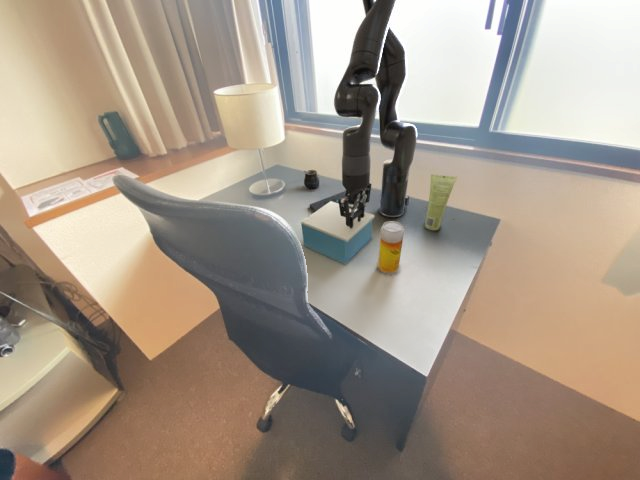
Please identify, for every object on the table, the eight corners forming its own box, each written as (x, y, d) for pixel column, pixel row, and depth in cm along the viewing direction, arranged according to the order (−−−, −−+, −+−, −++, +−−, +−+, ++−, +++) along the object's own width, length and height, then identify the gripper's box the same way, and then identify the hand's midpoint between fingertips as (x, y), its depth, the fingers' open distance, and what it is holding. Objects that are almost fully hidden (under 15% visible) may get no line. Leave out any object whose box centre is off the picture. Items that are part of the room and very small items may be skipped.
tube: (434, 221, 99) (445, 170, 88) (444, 228, 96) (457, 176, 84) (421, 225, 98) (431, 174, 86) (430, 232, 94) (442, 180, 83)
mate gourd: (322, 186, 130) (321, 166, 124) (314, 192, 125) (312, 172, 119) (310, 183, 133) (308, 163, 127) (301, 189, 128) (299, 169, 122)
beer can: (398, 275, 78) (405, 233, 69) (377, 273, 80) (380, 232, 71) (398, 262, 83) (403, 220, 74) (377, 260, 84) (381, 219, 75)
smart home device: (308, 204, 113) (346, 189, 121) (308, 207, 114) (346, 193, 122) (319, 212, 107) (358, 196, 115) (319, 215, 108) (358, 200, 116)
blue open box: (371, 238, 94) (372, 216, 88) (344, 264, 84) (344, 241, 79) (331, 224, 103) (330, 203, 97) (304, 245, 93) (301, 223, 88)
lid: (375, 217, 88) (375, 203, 85) (347, 242, 78) (347, 227, 75) (330, 203, 97) (330, 189, 94) (301, 223, 88) (299, 209, 84)
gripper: (358, 158, 79) (357, 208, 89) (328, 175, 71) (331, 228, 81) (381, 162, 75) (377, 214, 85) (353, 181, 67) (352, 237, 77)
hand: (355, 221), depth 83 cm, fingers closed on lid, 5 cm apart
